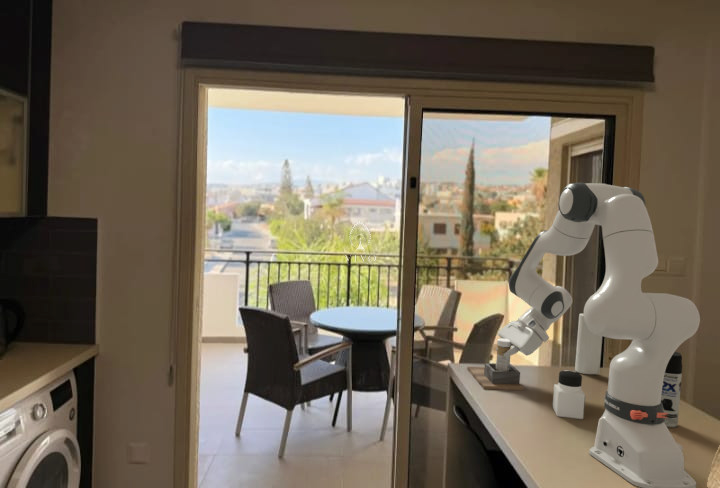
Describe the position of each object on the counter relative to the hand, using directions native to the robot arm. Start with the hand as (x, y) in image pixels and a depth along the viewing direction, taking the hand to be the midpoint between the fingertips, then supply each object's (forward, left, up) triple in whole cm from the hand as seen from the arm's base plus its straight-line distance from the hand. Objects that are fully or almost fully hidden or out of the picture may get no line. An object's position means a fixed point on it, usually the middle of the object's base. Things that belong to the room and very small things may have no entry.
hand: (501, 354), depth 168 cm
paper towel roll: (+14, -37, -10) cm, 40 cm away
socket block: (+3, +1, -10) cm, 10 cm away
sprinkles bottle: (0, -1, -9) cm, 9 cm away
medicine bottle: (-25, -12, -10) cm, 29 cm away
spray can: (-30, -37, -10) cm, 48 cm away
